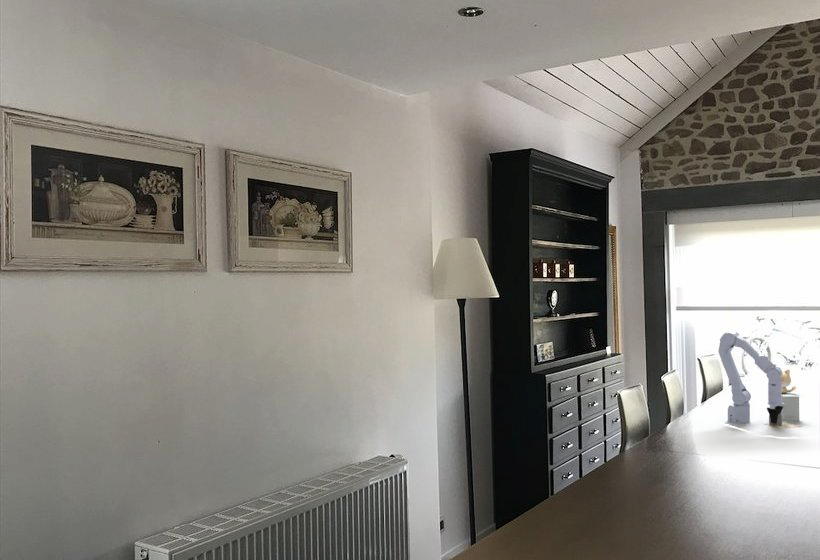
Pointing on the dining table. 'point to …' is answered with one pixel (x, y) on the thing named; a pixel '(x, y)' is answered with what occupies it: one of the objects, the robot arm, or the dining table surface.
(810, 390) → the dining table surface
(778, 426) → the board
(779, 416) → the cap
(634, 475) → the dining table surface
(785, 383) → the kitten
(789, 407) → the supplement box
